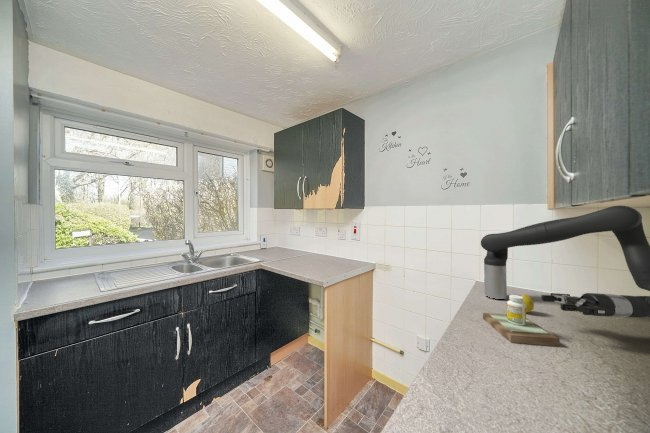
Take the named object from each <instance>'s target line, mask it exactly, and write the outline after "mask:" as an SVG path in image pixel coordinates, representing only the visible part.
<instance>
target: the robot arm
mask: <svg viewBox="0 0 650 433" xmlns="http://www.w3.org/2000/svg"><path fill="white" fill-rule="evenodd" d="M604 232H612V233H613V234H614V236H615V237H616V239H617V241H618V243H619V245H620V247H621V250H622V253H623V256H624V259H625V262H626V265H627V268H628V271H629V273H630V275H631V276H632V279H633V281H634V283H635V285H636V286H637V288H639V289H642V290H645V291H649V292H650V244H649V241H648V239H647V236H646V234H645V230H644V226H643V216H642V214H641V212H640V211H638V209H636V208H633V207H630V206H627V205H612V206H609V207H605V208H602V209H600V210H597V211H593V212H588V213H586V214H582V215H578V216H573V217H565V218H558V219H553V220H549V221H548V220H547V221H543V222H538V223H536V224H530V225H527V226H524V227H520V228H517V229H514V230H511V231H507V232H498V233H489V234H486V235H484V236H483V237H482V238H481V240H480V246H481V247H482V249H483V250H485V251H486V256H485V257H484V258H483V267H484V268H483V271H484V272H483V273H484V274H483V275H484V279H483V280H484V281H483V282H484V284H483V285H484V286H483V289H484V290H483V291H484V296H485V295H486V296H488V297H491V298H495V299H506V298H507V299H508V295H507V282H508V281H507V262H508V258H509V257H508V256H509V253H508V252H509V248H513V247H514V248H515V247H523V246H524V247H525V246H534V245H535V246H537V245H543V244H544V245H545V244H550V243H556V242H560V241H565V240H566V241H567V240H570V239H573V238H576V237H580V236H583V235H588V234H595V233H604ZM486 296H485V297H486ZM488 297H487V298H488ZM495 299H494V300H495ZM507 299H506V300H507ZM541 301H542V302H548V303H549V302H550V303H560V310H561V311H563V312H564V311H565V312H576V313H578V314H579V313H581V314H582V315H584V316H593V317H606V318H607V317H608V318H609V317H610V318H646V317H648V318H649V317H650V295H625V294H624V295H623V294H622V295H621V294H611V293H598V292H595V293H593V292H586V293H583V294H581V296H576V295H575V296H574V295H573V296H572V295H571V294H569V293H556V292H551V293H550V294H541Z"/></svg>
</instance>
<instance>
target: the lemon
mask: <svg viewBox="0 0 650 433" xmlns="http://www.w3.org/2000/svg"><path fill="white" fill-rule="evenodd" d="M520 296H521V297H523V300H524V301H523V303H524V304H525V305H526V314H527V313H530V312H532V311H533V310H534V309H535V305H534V304H535V303H534V300H533V299H532V298H531V297H530V296H529V295H527V294H522V295H520Z"/></svg>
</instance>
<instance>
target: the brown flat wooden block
mask: <svg viewBox="0 0 650 433" xmlns="http://www.w3.org/2000/svg"><path fill="white" fill-rule="evenodd" d="M482 320H484V321H485V322H486V323H487V324H489V325H490V326H491V327H492V328H493V329H494V330H496V332H498V333H499V334H500V335H502V337H503V338H505V340H507V341H508V342H510V344H511V343H512V344H513V343H514V344H525V345H527V344H528V345H537V346H538V345H539V346H551V347H560V338H559V337H557V336H556V335H555V334H553V333H551V331H548V330H547V329H545V328H543V327H541V326H540V325H538V324H537V323H535V322H534V321H532V320H530V319H529V318H527V317H526V325H523V326H521V325H515V324H512V323H510V322H509V321H508V320H507V313H496V312H495V313H493V312H483V313H482Z"/></svg>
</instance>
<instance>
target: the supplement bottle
mask: <svg viewBox="0 0 650 433" xmlns="http://www.w3.org/2000/svg"><path fill="white" fill-rule="evenodd" d="M508 299H509V300H507V302H506V312H507V313H506V314H507V320H508V321H509V322H510V323H512V324H515V325H521V326H523V325H526V318H527V313H526V305H525V304H524V303H523V301H524V300H523V297H521V295H516V294H509V297H508Z"/></svg>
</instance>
